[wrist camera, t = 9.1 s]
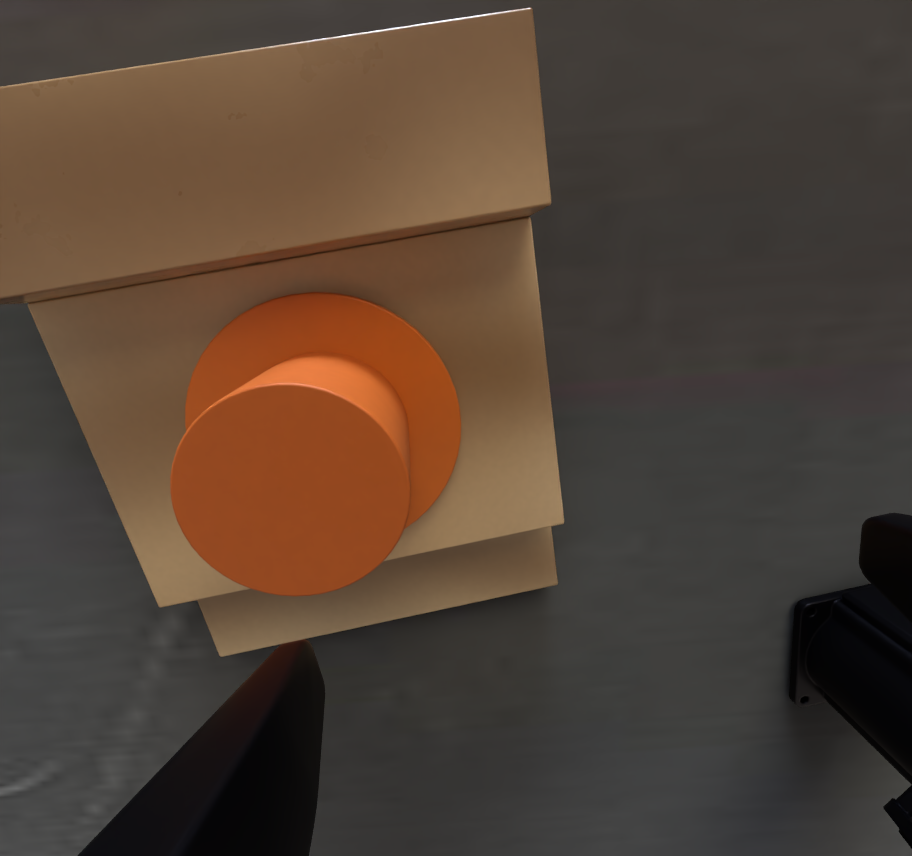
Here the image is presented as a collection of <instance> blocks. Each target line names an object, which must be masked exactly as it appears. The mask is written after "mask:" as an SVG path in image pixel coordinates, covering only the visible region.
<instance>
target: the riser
mask: <svg viewBox="0 0 912 856" xmlns="http://www.w3.org/2000/svg"><path fill="white" fill-rule="evenodd" d="M550 204H551V194H550V183H549V173H548V163H547V153H546V142H545V132H544V122H543V112H542V101H541V91H540V81H539V71H538V60H537V50H536V40H535V30H534V19H533V10H532V8H524V9H517V10H511V11H504V12H497V13H491V14H484V15H477V16H471V17H464V18H457V19H451V20H444V21H437V22H430V23H424V24H417V25H410V26H404V27H397V28H390V29H384V30H377V31H370V32H364V33H357V34H350V35H344V36H337V37H330V38H324V39H317V40H310V41H304V42H297V43H290V44H284V45H277V46H270V47H264V48H257V49H250V50H243V51H237V52H230V53H223V54H217V55H210V56H203V57H197V58H190V59H183V60H177V61H170V62H163V63H157V64H150V65H143V66H137V67H130V68H123V69H117V70H110V71H103V72H97V73H90V74H83V75H77V76H70V77H63V78H56V79H50V80H43V81H36V82H30V83H23V84H16V85H10V86H3V87H0V304H19V303H29V304H28V308H29V310H30V312H31V314H32V317H33V319H34V321H35V324H36V326H37V328H38V331H39V333H40V335H41V337H42V340H43V342H44V344H45V347H46V349H47V351H48V353H49V356H50V358H51V360H52V363H53V365H54V367H55V369H56V372H57V374H58V376H59V379H60V381H61V383H62V386H63V388H64V390H65V392H66V395H67V397H68V399H69V402H70V404H71V406H72V408H73V411H74V413H75V415H76V418H77V420H78V422H79V425H80V427H81V429H82V431H83V434H84V436H85V438H86V441H87V443H88V445H89V447H90V450H91V452H92V454H93V457H94V459H95V461H96V464H97V466H98V468H99V470H100V473H101V475H102V477H103V480H104V482H105V484H106V486H107V489H108V491H109V493H110V496H111V498H112V500H113V503H114V505H115V507H116V509H117V512H118V514H119V516H120V519H121V521H122V523H123V525H124V528H125V530H126V532H127V535H128V537H129V539H130V541H131V544H132V546H133V548H134V551H135V553H136V555H137V558H138V560H139V562H140V564H141V567H142V569H143V571H144V574H145V576H146V578H147V580H148V583H149V585H150V587H151V590H152V592H153V594H154V597H155V599H156V601H157V603H158V606H159V607H166V606H170V605H175V604H180V603H185V602H190V601H195V600H197V601H198V604H199V606H200V609H201V611H202V614H203V616H204V618H205V621H206V623H207V626H208V628H209V631H210V633H211V636H212V638H213V641H214V643H215V646H216V648H217V651H218V653H219V656H220V657H223V656H228V655H232V654H237V653H242V652H246V651H251V650H256V649H260V648H265V647H270V646H274V645H279V644H284V643H288V642H293V641H298V640H302V639H307V638H312V637H316V636H321V635H326V634H330V633H335V632H340V631H344V630H349V629H354V628H358V627H363V626H368V625H372V624H377V623H382V622H386V621H391V620H396V619H400V618H405V617H410V616H414V615H419V614H424V613H428V612H433V611H438V610H442V609H447V608H452V607H456V606H461V605H465V604H470V603H475V602H479V601H484V600H489V599H493V598H498V597H503V596H507V595H512V594H517V593H521V592H526V591H531V590H535V589H540V588H545V587H549V586H554V585H557V584H558V579H557V571H556V563H555V554H554V546H553V538H552V530H551V526H555V525H560V524H564V514H563V505H562V496H561V487H560V478H559V469H558V460H557V451H556V442H555V433H554V424H553V415H552V406H551V397H550V388H549V379H548V370H547V361H546V352H545V343H544V334H543V325H542V316H541V307H540V298H539V289H538V280H537V271H536V261H535V252H534V243H533V234H532V225H531V219H530V217H529V216H531V215H532V214H534V213H536V212H538V211H540V210H542V209H543V208H545V207H547V206H549V205H550ZM308 292H333V293H339V294H345V295H352V296H355V297H358V298H362V299H365V300H368V301H371V302H373V303H376V304H378V305H380V306H382V307H385V308H387V309H388V310H390V311H392V312H393V313H395V314H397V315H398V316H400V317H402V318H403V319H404V320H406V321H407V322H408V323H409V324H411V325H412V326H413V327H414V328H416V329H417V330H418V331H419V332H420V333H421V334H422V335H423V336H424V337H425V338H426V339H427V341H428V342H429V343H430V344H431V345H432V347H433V348H434V349H435V351H436V352H437V354H438V355H439V356H440V358H441V360H442V362H443V363H444V365H445V367H446V369H447V371H448V373H449V375H450V377H451V380H452V382H453V385H454V387H455V390H456V394H457V398H458V402H459V406H460V415H461V441H460V447H459V453H458V457H457V460H456V463H455V467H454V470H453V472H452V474H451V476H450V479H449V481H448V483H447V485H446V486H445V488H444V490H443V491H442V493H441V494H440V496H439V497H438V499H437V500H436V501H435V502H434V503H433V505H432V506H431V507H430V508H429V509H428V510H427V511H426V512H425V513H424V514H423V515H422V516H421V517H420V518H419V519H418V520H417V521H415V522H414V523H412V524H411V525H410V526H408V527H407V528H405V529H404V531H403V533H402V535H401V537H400V539H399V541H398V543H397V544H396V546H395V547H394V549H393V550H392V552H391V553H390V554H389V555H388V556H387V558H386V559H385V560H384V561H383V562H382V563H381V564H380V565H379V566H378V567H376V568H375V569H374V570H373V571H372V572H370V573H369V574H368V575H366V576H365V577H363V578H362V579H360V580H358V581H356V582H354V583H352V584H351V585H348V586H346V587H343V588H341V589H338V590H335V591H331V592H328V593H324V594H318V595H311V596H280V595H274V594H268V593H264V592H260V591H257V590H253V589H250V588H248V587H245V586H243V585H240V584H238V583H236V582H234V581H232V580H231V579H229V578H227V577H225V576H223V575H222V574H221V573H219V572H218V571H216V570H215V569H214V568H212V567H211V566H210V565H209V564H208V563H207V562H206V561H204V560H203V559H202V558H201V557H200V556H199V555H198V553H197V552H196V551H195V550H194V549H193V548H192V546H191V545H190V543H189V542H188V540H187V539H186V537H185V536H184V534H183V532H182V530H181V528H180V526H179V524H178V522H177V519H176V516H175V513H174V510H173V506H172V500H171V494H170V476H171V469H172V463H173V460H174V456H175V453H176V450H177V447H178V445H179V443H180V441H181V439H182V437H183V435H184V434H185V433H186V427H185V404H186V397H187V391H188V387H189V383H190V380H191V377H192V373H193V371H194V369H195V367H196V365H197V363H198V360H199V358H200V356H201V355H202V353H203V352H204V350H205V349H206V347H207V346H208V344H209V343H210V342H211V340H212V339H213V338H214V337H215V336H216V335H217V334H218V333H219V332H220V331H221V330H222V328H223V327H225V326H226V325H227V324H228V323H230V322H231V321H232V320H233V319H235V318H236V317H237V316H239V315H240V314H242V313H244V312H245V311H247V310H249V309H251V308H252V307H254V306H256V305H259V304H261V303H264V302H266V301H269V300H271V299H274V298H278V297H282V296H286V295H290V294H299V293H308Z"/></svg>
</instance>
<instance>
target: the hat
mask: <svg viewBox="0 0 912 856" xmlns="http://www.w3.org/2000/svg"><path fill="white" fill-rule="evenodd" d="M185 427H186V433H185V434H184V435H183V437H182V439H181V441H180V443H179V445H178V447H177V450H176V453H175V456H174V460H173V463H172V469H171V476H170V494H171V500H172V506H173V510H174V513H175V516H176V519H177V522H178V524H179V526H180V528H181V530H182V532H183V534H184V536H185V537H186V539H187V540H188V542H189V543H190V545H191V546H192V548H193V549H194V550H195V551H196V552H197V553H198V555H199V556H200V557H201V558H202V559H203V560H204V561H206V562H207V563H208V564H209V565H210V566H211V567H212V568H214V569H215V570H216V571H218V572H219V573H221V574H222V575H223V576H225V577H227V578H229V579H231V580H232V581H234V582H236V583H238V584H240V585H243V586H245V587H248V588H250V589H253V590H257V591H260V592H264V593H268V594H274V595H280V596H311V595H318V594H324V593H328V592H331V591H335V590H338V589H341V588H343V587H346V586H348V585H351V584H352V583H354V582H356V581H358V580H360V579H362V578H363V577H365V576H366V575H368V574H369V573H370V572H372V571H373V570H374V569H375V568H376V567H378V566H379V565H380V564H381V563H382V562H383V561H384V560H385V559H386V558H387V556H388V555H389V554H390V553H391V552H392V550H393V549H394V547H395V546H396V544H397V543H398V541H399V539H400V537H401V535H402V533H403V531H404V529H405V528H407V527H408V526H410V525H411V524H412V523H414V522H415V521H417V520H418V519H419V518H420V517H421V516H422V515H423V514H424V513H425V512H426V511H427V510H428V509H429V508H430V507H431V506H432V505H433V503H434V502H435V501H436V500H437V499H438V497H439V496H440V494H441V493H442V491H443V490H444V488H445V486H446V485H447V483H448V481H449V479H450V476H451V474H452V472H453V470H454V467H455V463H456V460H457V457H458V453H459V447H460V441H461V415H460V406H459V402H458V398H457V394H456V390H455V387H454V385H453V382H452V380H451V377H450V375H449V373H448V371H447V369H446V367H445V365H444V363H443V362H442V360H441V358H440V356H439V355H438V354H437V352H436V351H435V349H434V348H433V347H432V345H431V344H430V343H429V342H428V341H427V339H426V338H425V337H424V336H423V335H422V334H421V333H420V332H419V331H418V330H417V329H416V328H414V327H413V326H412V325H411V324H409V323H408V322H407V321H406V320H404V319H403V318H402V317H400V316H398V315H397V314H395V313H393V312H392V311H390V310H388V309H387V308H385V307H382V306H380V305H378V304H376V303H373V302H371V301H368V300H365V299H362V298H358V297H355V296H352V295H345V294H339V293H333V292H308V293H299V294H290V295H286V296H282V297H278V298H274V299H271V300H269V301H266V302H264V303H261V304H259V305H256V306H254V307H252V308H251V309H249V310H247V311H245V312H244V313H242V314H240V315H239V316H237V317H236V318H235V319H233V320H232V321H231V322H230V323H228V324H227V325H226V326H225V327H223V328H222V330H221V331H220V332H219V333H218V334H217V335H216V336H215V337H214V338H213V339H212V340H211V342H210V343H209V344H208V346H207V347H206V349H205V350H204V352H203V353H202V355H201V356H200V358H199V360H198V363H197V365H196V367H195V369H194V371H193V373H192V377H191V380H190V383H189V387H188V391H187V397H186V404H185Z"/></svg>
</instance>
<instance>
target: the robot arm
mask: <svg viewBox="0 0 912 856" xmlns="http://www.w3.org/2000/svg"><path fill="white" fill-rule="evenodd" d="M859 565H860V568H861V571H862V573H863V574H864V576H865V577H866V578H867V579H868V580H869V581H870V582H871V583H872V584H868V585H864V586H859V587H855V588H850V589H846V590H841V591H837V592H832V593H828V594H823V595H819V596H814V597H810V598H805V599H803V600H801V601H799V602H798V603H797V605H796V606H795V612H794V628H793V644H792V660H791V676H790V692H789V697H790V699H791V700H792V701H793V702H794V703H795V704H796V705H797V706H798V707H807V706H811V705H815V704H819V703H824V702H828V703H829V704H830V705H831V706H832V707H833V708H834V709H835V710H836V711H837V712H838V713H839V714H840V715H841V716H842V717H843V718H844V719H845V720H847V721H848V722H849V723H850V724H851V725H852V726H853V727H854V728H855V729H856V730H857V731H858V732H859V733H860V734H861V735H862V736H863V737H864V738H865V739H866V740H867V741H868V742H869V743H870V744H871V745H872V746H873V747H874V748H875V749H876V750H877V751H878V752H879V753H880V754H881V755H882V756H883V757H884V758H885V759H886V760H887V761H888V762H889V763H890V764H891V765H892V766H893V767H894V768H895V769H896V770H897V771H898V772H899V773H900V774H901V775H902V776H903V777H905V778H906V779H907V780H908V781H909V782H910V783H911V784H912V516H910V515H905V514H899V513H889V514H884V515H880V516H875V517H871V518H868V519H867V520H865V522H864V523H863V525H862V532H861V543H860V554H859ZM324 704H325V686H324V681H323V677H322V674H321V671H320V668H319V665H318V662H317V659H316V656H315V653H314V650H313V647H312V645H311V643H310V642H309V641H308V640H306V639H302V640H298V641H293V642H288V643H284V644H282V645H280V646H279V647H278V648H277V649H276V650H275V651H274V652H273V653H272V654H271V655H270V656H269V657H268V658H267V659H266V660H265V661H264V662H263V663H262V664H261V665H260V666H259V667H258V668H257V669H256V670H255V672H254V673H253V674H252V675H251V676H250V677H249V678H248V679H247V680H246V681H245V682H244V683H243V684H242V685H241V686H240V687H239V688H238V689H237V690H236V691H235V692H234V693H233V694H232V695H231V696H230V698H229V699H228V700H227V701H226V702H225V703H224V704H223V705H222V706H221V707H220V708H219V709H218V710H217V711H216V712H215V713H214V714H213V715H212V716H211V717H210V718H209V719H208V720H207V721H206V723H205V724H204V725H203V726H202V727H201V728H200V729H199V730H198V731H197V732H196V733H195V734H194V735H193V736H192V737H191V738H190V739H189V740H188V741H187V742H186V743H185V744H184V745H183V746H182V747H181V749H180V750H179V751H178V752H177V753H176V754H175V755H174V756H173V757H172V758H171V759H170V760H169V761H168V762H167V763H166V764H165V765H164V766H163V767H162V768H161V769H160V770H159V771H158V772H157V773H156V775H155V776H154V777H153V778H152V779H151V780H150V781H149V782H148V783H147V784H146V785H145V786H144V787H143V788H142V789H141V790H140V791H139V792H138V793H137V794H136V795H135V796H134V797H133V798H132V800H131V801H130V802H129V803H128V804H127V805H126V806H125V807H124V808H123V809H122V810H121V811H120V812H119V813H118V814H117V815H116V816H115V817H114V818H113V819H112V820H111V821H110V822H109V823H108V824H107V826H106V827H105V828H104V829H103V830H102V831H101V832H100V833H99V834H98V835H97V836H96V837H95V838H94V839H93V840H92V841H91V842H90V843H89V844H88V845H87V846H86V847H85V848H84V849H83V850H82V852H81V853H80V854H79V855H78V856H309V852H310V846H311V840H312V834H313V828H314V822H315V815H316V808H317V798H318V787H319V773H320V759H321V745H322V732H323V718H324ZM883 808H884V809H885V811H886V812H887V813H888V815H889V816H890V817H891V818H892V820H893V821H894V822H895V824H896V825H897V826H898V827H899V833H900V834H901V835H902V837H903V838H904V839H905V841H906V842H907V843H908V844H909V846H910V847H911V848H912V785H911V786H910V787H909V788H908V789H907V790H906V791H905V792H904V793H903V794H902V795H901V796H899V797H898V798H897V799H896V800H895V799H893V798H892V799H891V800H890V801H889V802H888V803H887V804H886V805H885V806H884V807H883Z"/></svg>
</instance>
